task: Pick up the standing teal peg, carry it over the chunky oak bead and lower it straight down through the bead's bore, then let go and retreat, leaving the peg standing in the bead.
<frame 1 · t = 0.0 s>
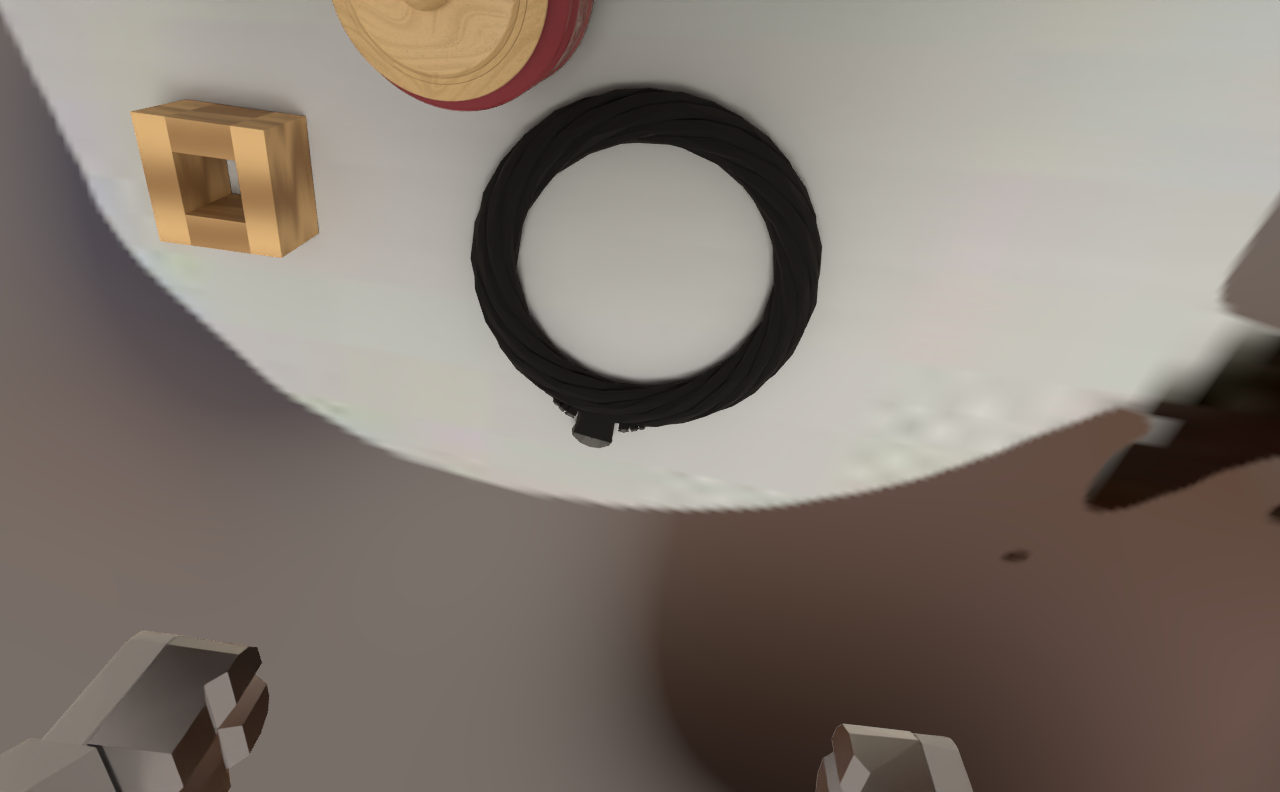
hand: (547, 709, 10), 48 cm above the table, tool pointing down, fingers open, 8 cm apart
oak bead: (254, 169, 55), on the table
cable lock: (641, 281, 58), on the table
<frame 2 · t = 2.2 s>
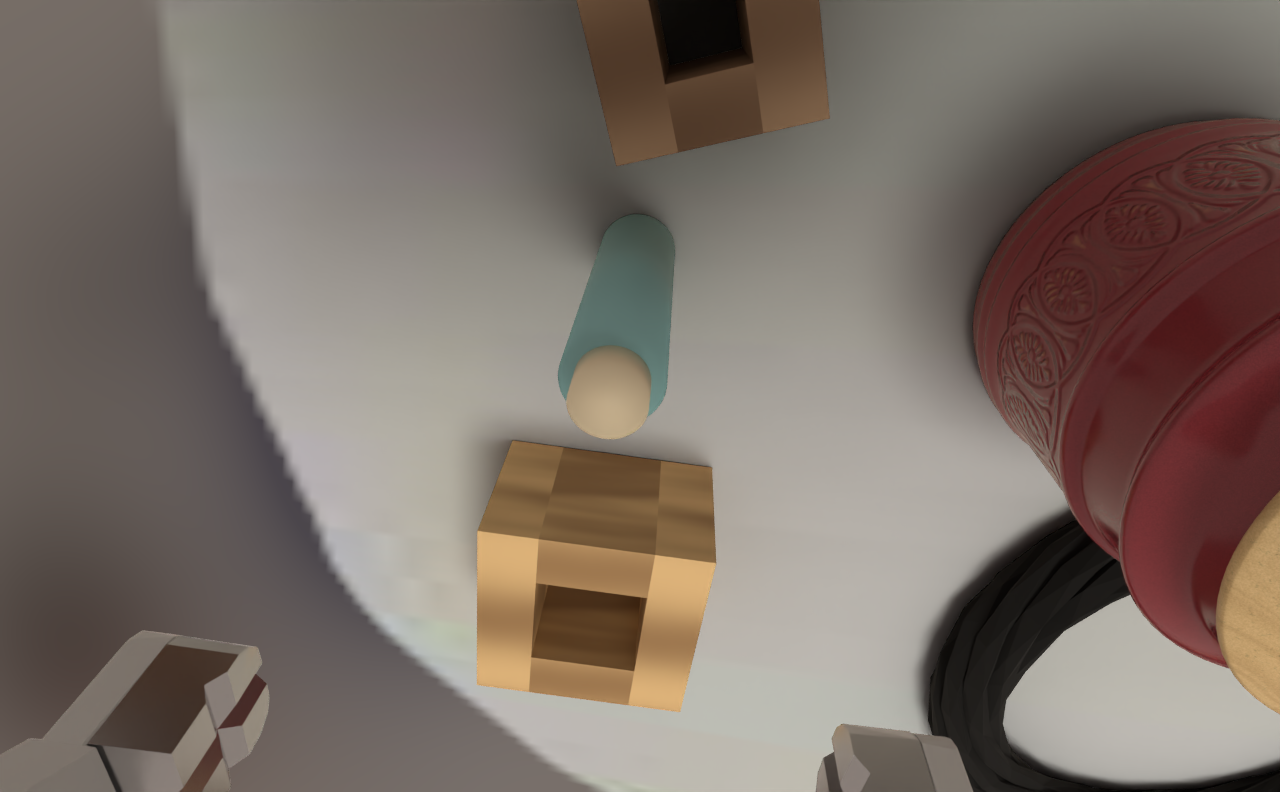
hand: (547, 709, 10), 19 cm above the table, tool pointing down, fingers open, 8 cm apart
teal peg: (637, 250, 27), on the table
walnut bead: (698, 15, 22), on the table
oak bead: (602, 529, 34), on the table
canister: (1142, 293, 26), on the table
cable lock: (1176, 671, 37), on the table
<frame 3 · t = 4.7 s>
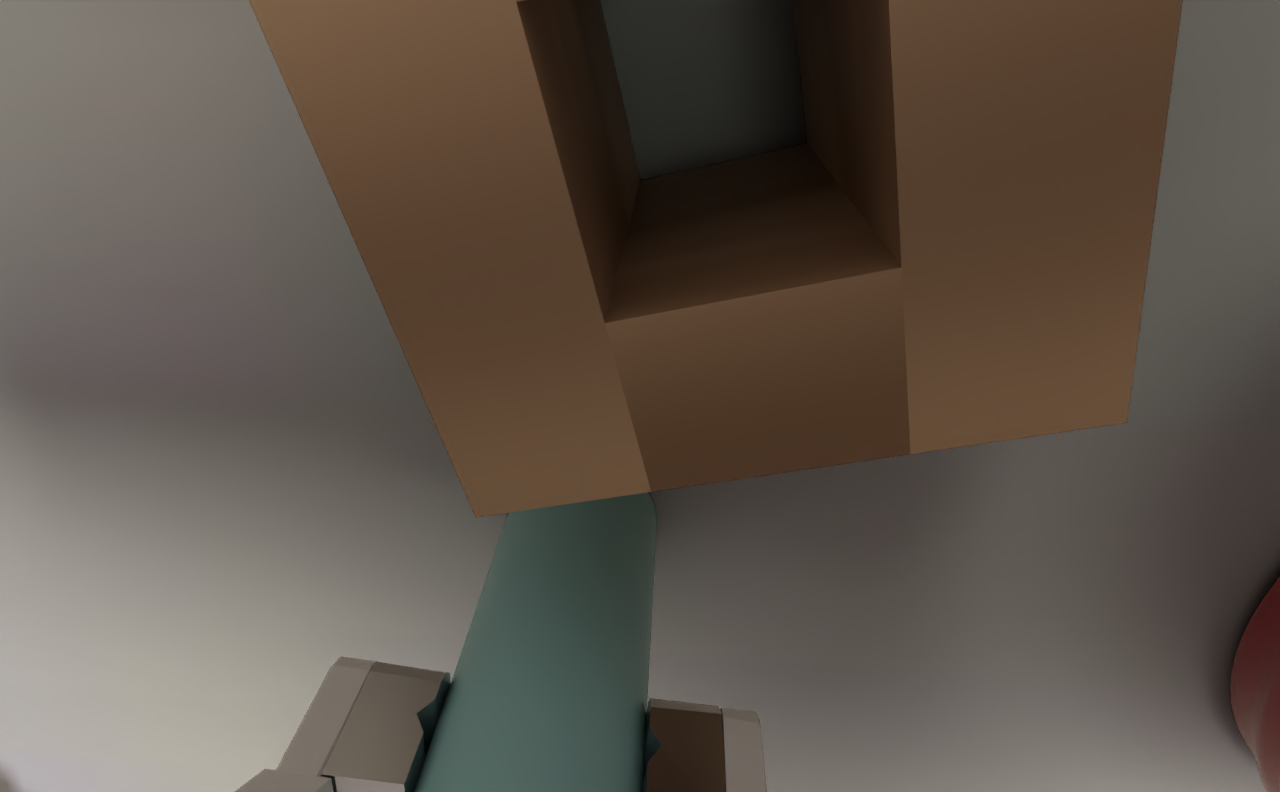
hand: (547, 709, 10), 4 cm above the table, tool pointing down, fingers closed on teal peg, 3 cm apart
teal peg: (583, 519, 13), on the table, touching gripper
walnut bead: (707, 72, 9), on the table
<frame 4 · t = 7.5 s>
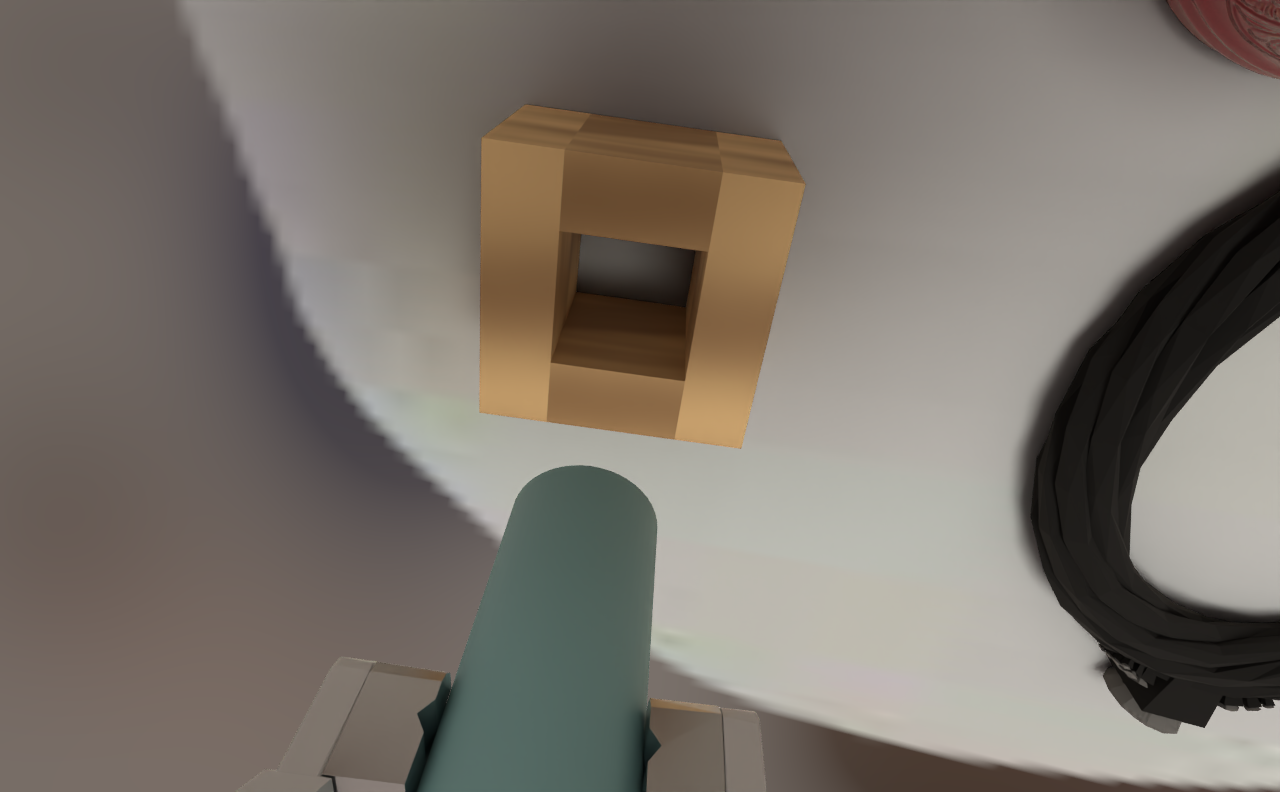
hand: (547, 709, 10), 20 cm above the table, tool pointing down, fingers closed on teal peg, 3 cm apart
teal peg: (584, 524, 13), point 16 cm above the table, touching gripper
oak bead: (637, 246, 27), on the table
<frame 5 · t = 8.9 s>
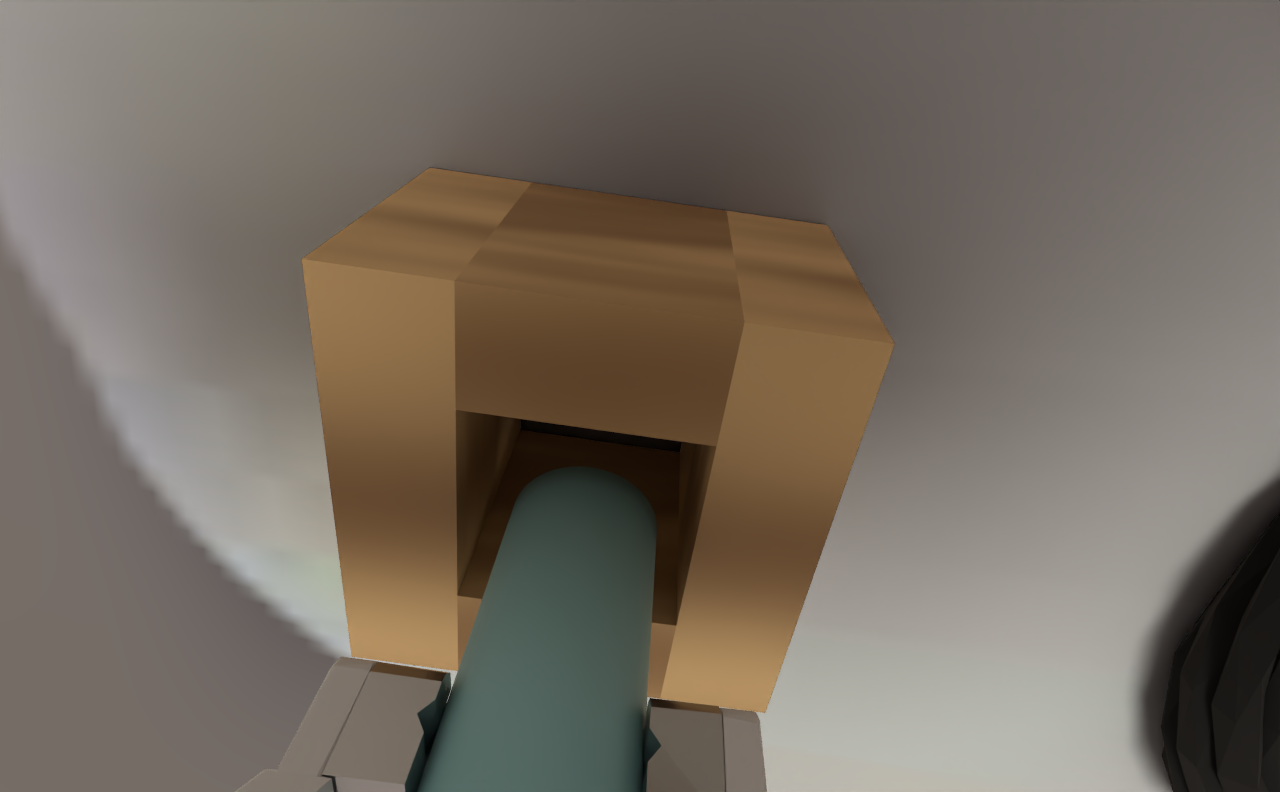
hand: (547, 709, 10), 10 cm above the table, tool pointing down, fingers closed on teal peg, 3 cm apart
teal peg: (584, 525, 13), point 5 cm above the table, touching gripper
oak bead: (608, 371, 18), on the table
when the fingers open (7 cm above the table, at t = 10.1 s): teal peg drops 2 cm, resting in oak bead.
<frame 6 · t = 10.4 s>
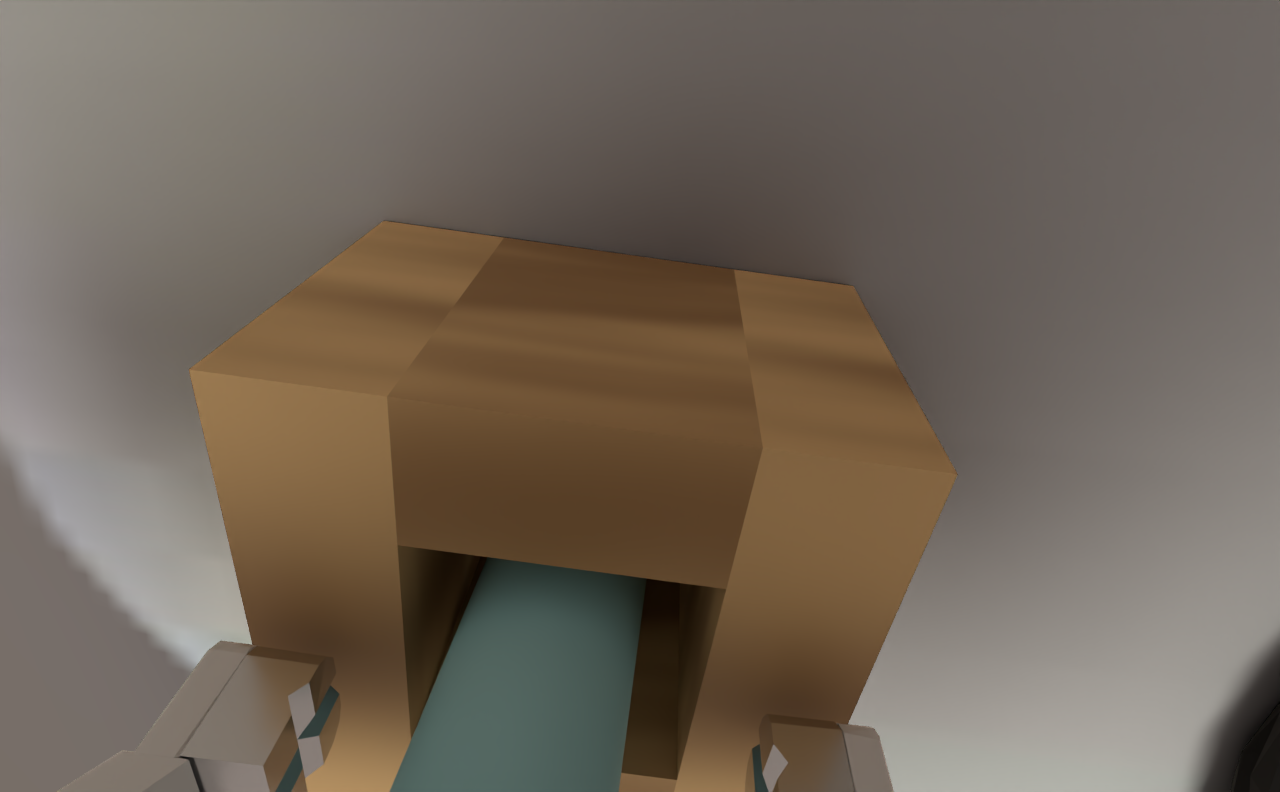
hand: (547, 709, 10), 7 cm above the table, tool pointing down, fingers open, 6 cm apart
teal peg: (599, 452, 16), resting in oak bead
oak bead: (597, 447, 16), on the table
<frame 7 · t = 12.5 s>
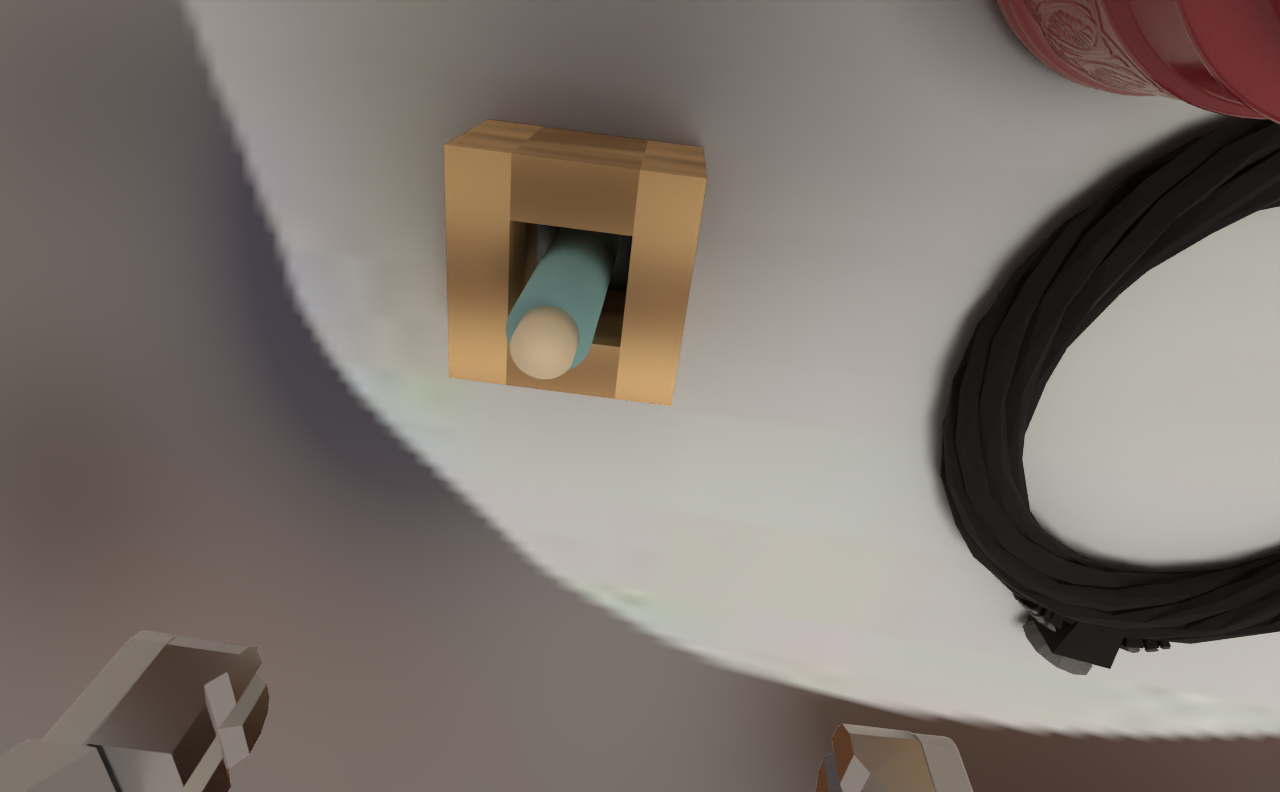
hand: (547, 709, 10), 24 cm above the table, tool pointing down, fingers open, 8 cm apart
teal peg: (588, 241, 31), resting in oak bead
oak bead: (587, 239, 31), on the table
cable lock: (1207, 415, 34), on the table
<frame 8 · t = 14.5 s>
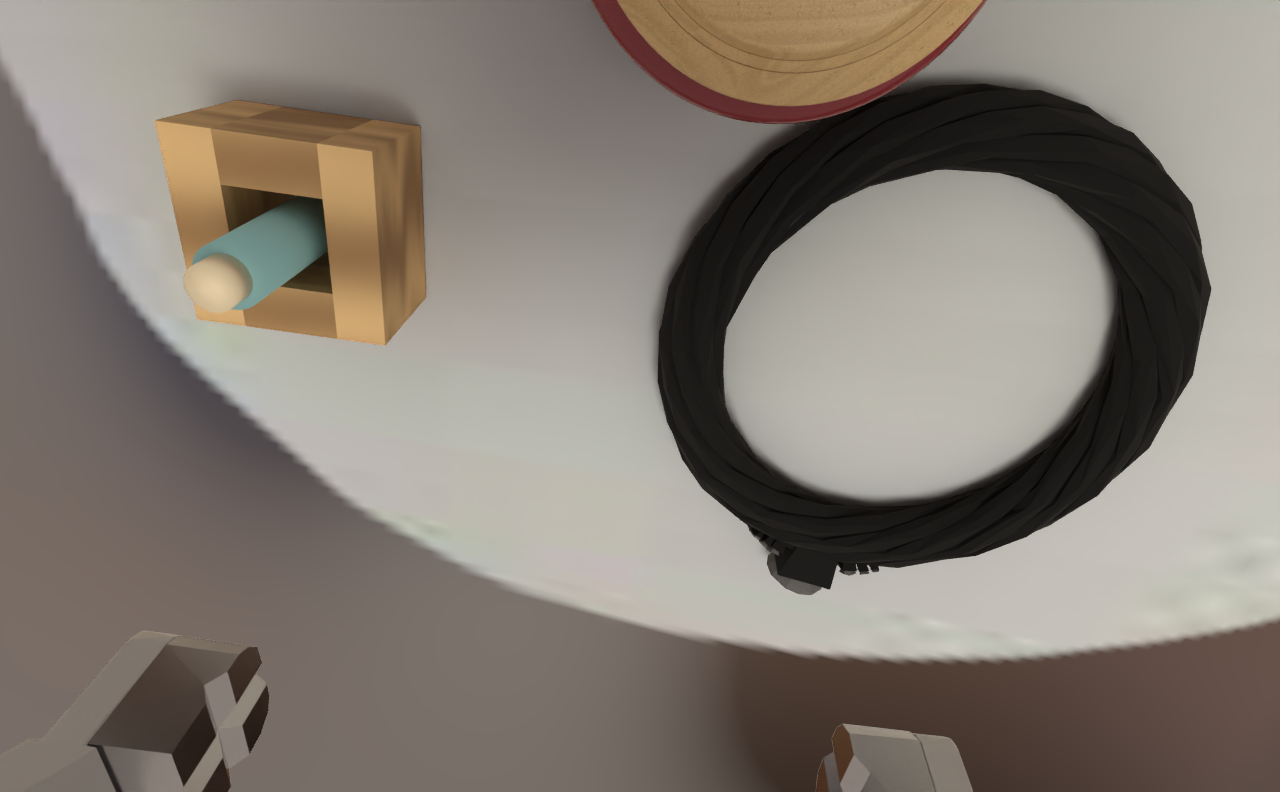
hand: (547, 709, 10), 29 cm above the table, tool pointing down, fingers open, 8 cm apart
teal peg: (338, 207, 36), resting in oak bead
oak bead: (337, 205, 36), on the table
cable lock: (894, 366, 40), on the table
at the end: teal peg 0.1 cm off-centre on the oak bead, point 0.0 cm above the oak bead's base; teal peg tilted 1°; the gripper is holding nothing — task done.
